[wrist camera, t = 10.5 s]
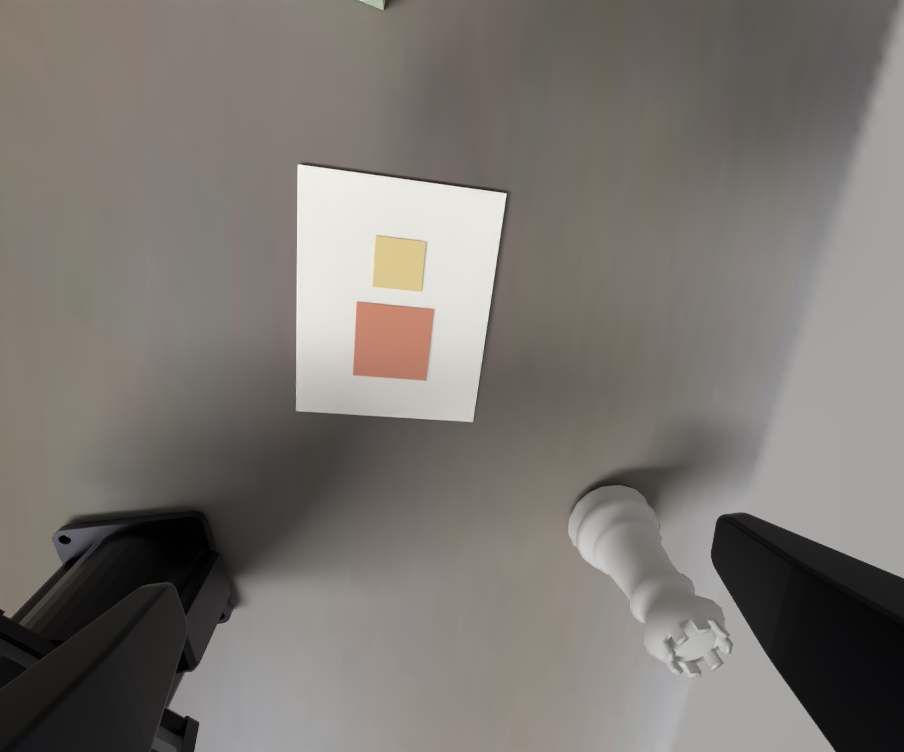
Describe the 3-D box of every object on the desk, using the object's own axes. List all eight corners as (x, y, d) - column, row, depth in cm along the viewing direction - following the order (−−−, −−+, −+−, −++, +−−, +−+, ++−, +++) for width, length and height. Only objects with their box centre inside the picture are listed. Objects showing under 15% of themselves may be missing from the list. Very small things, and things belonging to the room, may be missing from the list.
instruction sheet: (472, 420, 21) (473, 422, 21) (296, 409, 20) (295, 411, 20) (505, 193, 18) (507, 193, 18) (298, 164, 17) (297, 164, 16)
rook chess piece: (621, 464, 23) (730, 584, 15) (658, 519, 24) (775, 654, 17) (549, 512, 23) (620, 651, 16) (590, 563, 25) (673, 713, 17)
